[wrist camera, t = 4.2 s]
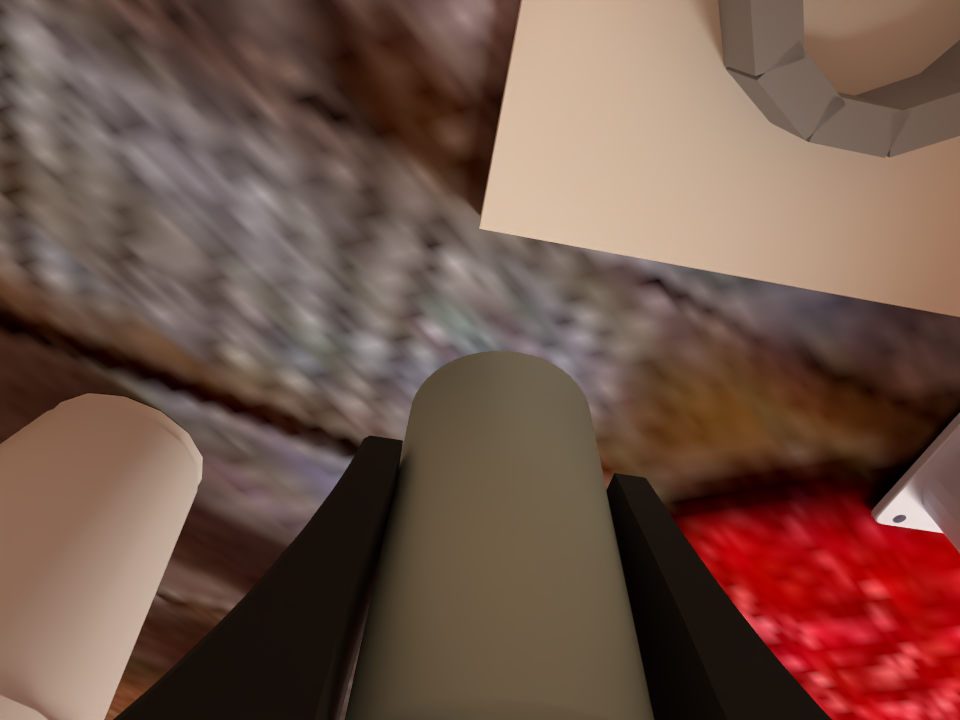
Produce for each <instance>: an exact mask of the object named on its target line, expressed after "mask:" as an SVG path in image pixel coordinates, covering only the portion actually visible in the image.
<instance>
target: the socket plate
mask: <svg viewBox="0 0 960 720" xmlns="http://www.w3.org/2000/svg"><path fill="white" fill-rule="evenodd" d="M479 229H485V230H490V231H495V232H501V233H506V234H512V235H517V236H523V237H528V238H533V239H539V240H544V241H550V242H555V243H561V244H566V245H571V246H577V247H582V248H588V249H593V250H598V251H604V252H609V253H615V254H620V255H626V256H631V257H636V258H642V259H647V260H653V261H658V262H664V263H669V264H674V265H680V266H685V267H691V268H696V269H702V270H707V271H712V272H718V273H723V274H729V275H734V276H739V277H745V278H750V279H756V280H761V281H767V282H772V283H777V284H783V285H788V286H794V287H799V288H805V289H810V290H815V291H821V292H826V293H832V294H837V295H843V296H848V297H853V298H859V299H864V300H870V301H875V302H881V303H886V304H891V305H897V306H902V307H908V308H913V309H918V310H924V311H929V312H935V313H940V314H946V315H951V316H956V317H960V0H521V1H520V6H519V12H518V17H517V22H516V28H515V33H514V39H513V44H512V49H511V55H510V60H509V66H508V71H507V76H506V82H505V87H504V92H503V98H502V103H501V109H500V114H499V119H498V125H497V130H496V135H495V141H494V146H493V152H492V157H491V162H490V168H489V173H488V179H487V184H486V189H485V195H484V200H483V205H482V211H481V216H480V227H479Z"/></svg>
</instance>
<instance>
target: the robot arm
mask: <svg viewBox="0 0 960 720" xmlns="http://www.w3.org/2000/svg"><path fill="white" fill-rule="evenodd" d="M402 443H403V441H402V440H396V439H389V438H383V437H376V436H368V437H367V438H365V439H363V441H362V443H361V445H360V447H359V449H358V451H357V453H356V454H355V456H354V458H353V460H352V461H351V463H350V464H349V466H348V468H347V469H346V471H345V472H344V474H343V475H342V477H341V478H340V480H339V481H338V483H337V484H336V486H335V487H334V489H333V490H332V492H331V493H330V494H329V496H328V497H327V498H326V500H325V501H324V502H323V504H322V505H321V506H320V508H319V509H318V510H317V512H316V513H315V514H314V516H313V517H312V518H311V520H310V521H309V522H308V524H307V525H306V526H305V527H304V529H303V530H302V531H301V532H300V534H299V535H298V536H297V537H296V538H295V540H294V541H293V542H292V543H291V544H290V546H289V547H288V548H287V549H286V550H285V551H284V553H283V554H282V555H281V556H280V557H279V559H278V560H277V561H276V562H275V563H274V565H273V566H272V567H271V568H270V569H269V570H268V571H267V573H266V574H265V575H264V576H263V577H262V578H261V579H260V580H259V581H258V583H257V584H256V585H255V586H254V587H253V588H252V589H251V590H250V591H249V592H248V593H247V594H246V596H245V597H244V598H243V599H242V600H241V601H240V602H239V603H238V604H237V605H236V606H235V607H234V608H233V609H232V610H231V611H230V612H229V613H228V614H227V615H226V616H225V617H224V618H223V619H222V620H221V621H220V622H219V623H218V624H217V625H216V626H215V627H214V628H213V629H212V630H211V631H210V632H209V633H208V634H207V635H206V636H205V637H204V638H203V639H202V640H201V641H200V642H199V643H198V644H197V645H196V646H195V647H194V648H193V649H192V650H191V651H189V652H188V653H187V654H186V655H185V656H184V657H183V658H182V659H181V660H180V661H179V662H178V663H177V664H176V665H175V666H174V667H173V668H172V669H170V670H169V671H168V672H167V673H166V674H165V675H164V676H163V677H162V678H161V679H160V680H158V681H157V682H156V683H155V684H154V685H153V686H152V687H151V688H150V689H148V690H147V691H146V692H145V693H144V694H143V695H142V696H140V697H139V698H138V699H137V700H136V701H135V702H133V703H132V704H131V705H130V706H129V707H128V708H126V709H125V710H124V711H123V712H122V713H121V714H119V715H118V716H117V717H116V718H115V719H114V720H339V719H340V714H341V710H342V706H343V702H344V699H345V695H346V691H347V687H348V683H349V680H350V676H351V673H352V670H353V666H354V663H355V659H356V656H357V653H358V649H359V646H360V642H361V639H362V635H363V632H364V628H365V623H366V618H367V614H368V609H369V604H370V599H371V595H372V590H373V585H374V581H375V576H376V571H377V567H378V562H379V557H380V552H381V548H382V543H383V538H384V534H385V529H386V525H387V520H388V516H389V512H390V508H391V504H392V499H393V494H394V489H395V485H396V480H397V475H398V470H399V465H400V457H401V450H402ZM607 496H608V501H609V506H610V511H611V515H612V520H613V525H614V530H615V534H616V539H617V544H618V549H619V554H620V558H621V563H622V568H623V573H624V577H625V582H626V587H627V592H628V596H629V601H630V606H631V611H632V616H633V620H634V625H635V630H636V635H637V639H638V644H639V649H640V654H641V659H642V663H643V668H644V673H645V678H646V682H647V687H648V692H649V697H650V702H651V706H652V711H653V716H654V720H832V719H831V718H830V717H829V716H828V715H827V714H826V713H825V712H824V711H823V710H822V709H821V708H820V707H819V705H818V704H817V703H816V702H815V701H814V700H813V699H812V698H811V696H810V695H809V694H808V693H807V692H806V691H805V690H804V689H803V687H802V686H801V685H800V684H799V683H798V682H797V681H796V679H795V678H794V677H793V676H792V675H791V674H790V673H789V672H788V670H787V669H786V668H785V667H784V666H783V665H782V664H781V662H780V661H779V660H778V659H777V658H776V656H775V655H774V654H773V653H772V652H771V650H770V649H769V648H768V647H767V646H766V644H765V643H764V642H763V641H762V639H761V638H760V637H759V636H758V634H757V633H756V632H755V631H754V629H753V628H752V627H751V626H750V624H749V623H748V622H747V620H746V619H745V618H744V617H743V615H742V614H741V613H740V612H739V610H738V609H737V608H736V607H735V605H734V604H733V603H732V601H731V600H730V599H729V597H728V596H727V595H726V593H725V592H724V591H723V589H722V588H721V587H720V585H719V584H718V582H717V581H716V580H715V578H714V577H713V575H712V574H711V573H710V571H709V570H708V569H707V567H706V566H705V564H704V563H703V562H702V560H701V559H700V557H699V556H698V554H697V553H696V552H695V550H694V549H693V547H692V546H691V544H690V543H689V542H688V540H687V539H686V537H685V536H684V534H683V533H682V531H681V530H680V528H679V527H678V525H677V524H676V522H675V521H674V519H673V518H672V516H671V515H670V513H669V512H668V510H667V509H666V507H665V506H664V504H663V503H662V502H661V500H660V499H659V497H658V496H657V494H656V493H655V491H654V490H653V488H652V487H651V485H650V484H649V482H648V481H647V479H646V478H643V477H637V476H630V475H623V474H617V473H614V475H613V478H612V480H611V482H610V484H609V486H608V489H607ZM871 513H872V516H873V518H874V519H875V520H876V521H877V523H880V524H886V525H893V526H899V527H906V528H913V529H919V530H926V531H933V532H939V533H944V534H945V535H946V537H947V538H948V539H949V540H950V542H951V543H952V544H953V545H954V546H955V548H956V549H957V550H958V551H959V553H960V413H959V414H958V415H957V416H956V417H955V418H954V419H953V420H952V422H951V423H950V424H949V425H948V426H947V427H946V428H945V429H944V430H943V432H942V433H941V434H940V435H939V436H938V437H937V438H936V439H935V440H934V442H933V443H932V444H931V445H930V446H929V447H928V448H927V449H926V451H925V452H924V453H923V454H922V455H921V456H920V457H919V458H918V459H917V461H916V462H915V463H914V464H913V465H912V466H911V467H910V468H909V469H908V471H907V472H906V473H905V474H904V475H903V476H902V477H901V478H900V480H899V481H898V482H897V483H896V484H895V485H894V486H893V487H892V488H891V490H890V491H889V492H888V493H887V494H886V495H885V496H884V497H883V498H882V500H881V501H880V502H879V503H878V504H877V505H876V506H875V507H874V509H873V510H872V512H871Z"/></svg>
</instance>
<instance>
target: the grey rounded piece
mask: <svg viewBox="0 0 960 720" xmlns="http://www.w3.org/2000/svg"><path fill="white" fill-rule="evenodd" d="M345 720H654V716H653V711H652V706H651V702H650V697H649V692H648V687H647V682H646V678H645V673H644V668H643V663H642V659H641V654H640V649H639V644H638V639H637V635H636V630H635V625H634V620H633V616H632V611H631V606H630V601H629V596H628V592H627V587H626V582H625V577H624V573H623V568H622V563H621V558H620V554H619V549H618V544H617V539H616V534H615V530H614V525H613V520H612V515H611V511H610V506H609V501H608V496H607V491H606V487H605V482H604V477H603V472H602V468H601V463H600V458H599V453H598V448H597V444H596V439H595V434H594V429H593V425H592V420H591V415H590V410H589V406H588V403H587V400H586V398H585V395H584V394H583V392H582V390H581V389H580V387H579V386H578V385H577V383H576V382H575V381H574V380H573V379H572V378H571V377H570V376H569V375H568V374H567V373H565V372H564V371H563V370H561V369H560V368H558V367H557V366H555V365H554V364H551V363H549V362H547V361H545V360H543V359H540V358H538V357H535V356H532V355H528V354H523V353H518V352H509V351H490V352H481V353H476V354H472V355H468V356H465V357H462V358H459V359H456V360H454V361H452V362H450V363H448V364H446V365H444V366H443V367H441V368H440V369H438V370H437V371H435V372H434V373H433V374H432V375H431V376H430V377H429V378H428V379H427V380H426V381H425V382H424V383H423V384H422V386H421V387H420V389H419V390H418V392H417V393H416V396H415V398H414V400H413V403H412V407H411V411H410V416H409V421H408V426H407V430H406V435H405V440H404V444H403V449H402V454H401V458H400V465H399V470H398V475H397V480H396V485H395V489H394V494H393V499H392V504H391V508H390V512H389V516H388V520H387V525H386V529H385V534H384V538H383V543H382V548H381V552H380V557H379V562H378V567H377V571H376V576H375V581H374V585H373V590H372V595H371V599H370V604H369V609H368V614H367V618H366V623H365V628H364V632H363V637H362V642H361V646H360V651H359V656H358V661H357V665H356V670H355V675H354V679H353V684H352V689H351V693H350V698H349V703H348V708H347V712H346V717H345Z"/></svg>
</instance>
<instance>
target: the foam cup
mask: <svg viewBox="0 0 960 720" xmlns="http://www.w3.org/2000/svg"><path fill="white" fill-rule="evenodd" d="M202 461H203V457H202V456H201V454H200V452H199V451H198V449H197V447H196V445H195V444H194V442H193V440H192V439H191V437H190V435H189V433H187V432H186V431H185V430H184V429H182V428H181V427H180V426H179V425H177V424H176V423H175V422H174V421H172V420H171V419H170V418H169V417H167V416H166V415H165V414H164V413H162V412H161V411H159V410H157V409H154V408H152V407H149V406H147V405H144V404H142V403H139V402H137V401H135V400H132V399H130V398H127V397H125V396H115V395H104V394H93V393H87V394H84V395H81V396H78V397H75V398H72V399H69V400H66V401H63V402H60V403H59V404H58V405H57V406H56V407H55V408H54V409H52V410H49V411H47V412H45V413H44V414H42V415H41V416H40V417H38V418H37V419H35V420H34V421H32V422H31V423H30V424H28V425H27V426H25V427H24V428H22V429H21V430H20V431H18V432H17V433H15V434H14V435H12V436H11V437H10V438H8V439H7V440H5V441H4V442H2V443H1V444H0V720H104V719H105V716H106V714H107V711H108V709H109V706H110V704H111V701H112V699H113V697H114V694H115V692H116V689H117V687H118V684H119V682H120V679H121V677H122V674H123V672H124V670H125V667H126V665H127V662H128V660H129V657H130V655H131V652H132V650H133V647H134V645H135V643H136V640H137V638H138V635H139V633H140V630H141V628H142V625H143V623H144V621H145V618H146V616H147V613H148V611H149V608H150V606H151V603H152V601H153V598H154V596H155V594H156V591H157V589H158V586H159V584H160V581H161V579H162V576H163V574H164V571H165V569H166V567H167V564H168V562H169V559H170V557H171V554H172V552H173V549H174V547H175V544H176V542H177V540H178V537H179V535H180V532H181V530H182V527H183V525H184V522H185V520H186V518H187V515H188V513H189V510H190V508H191V505H192V503H193V500H194V498H195V495H196V493H197V486H198V485H199V483H200V481H201V480H202Z"/></svg>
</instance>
